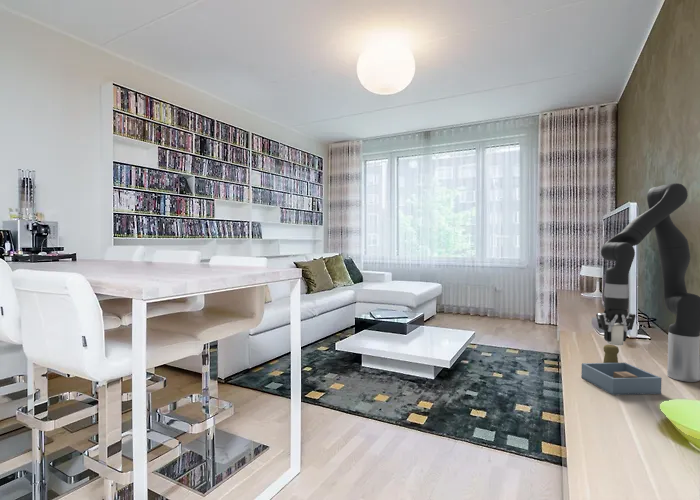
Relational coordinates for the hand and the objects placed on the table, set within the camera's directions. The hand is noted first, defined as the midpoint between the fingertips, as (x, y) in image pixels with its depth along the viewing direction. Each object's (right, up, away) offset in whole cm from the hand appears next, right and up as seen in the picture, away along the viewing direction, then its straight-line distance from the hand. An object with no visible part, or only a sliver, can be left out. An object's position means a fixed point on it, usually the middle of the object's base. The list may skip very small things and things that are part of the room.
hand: (615, 340), depth 145 cm
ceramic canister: (0, -1, 0) cm, 1 cm away
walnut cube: (-1, -15, -6) cm, 17 cm away
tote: (0, -16, -2) cm, 16 cm away
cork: (+6, -16, +12) cm, 21 cm away
